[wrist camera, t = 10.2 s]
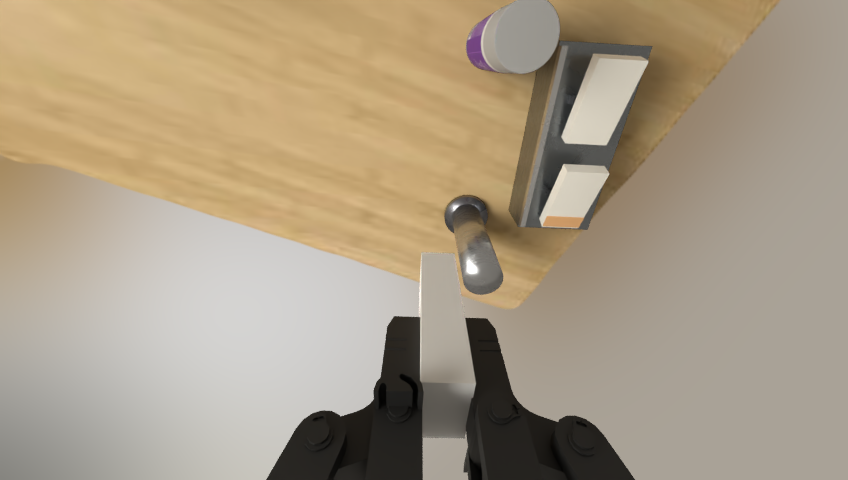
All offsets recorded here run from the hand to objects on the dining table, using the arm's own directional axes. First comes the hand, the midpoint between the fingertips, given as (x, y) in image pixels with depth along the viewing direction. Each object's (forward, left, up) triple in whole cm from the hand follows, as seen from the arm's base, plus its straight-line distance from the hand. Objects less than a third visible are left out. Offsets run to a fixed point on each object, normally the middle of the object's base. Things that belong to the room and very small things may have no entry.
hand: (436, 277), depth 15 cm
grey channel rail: (-1, +17, -28) cm, 33 cm away
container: (-10, +6, -29) cm, 31 cm away
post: (+10, +6, -28) cm, 31 cm away
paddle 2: (+4, +17, -21) cm, 27 cm away
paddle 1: (-6, +17, -21) cm, 28 cm away
